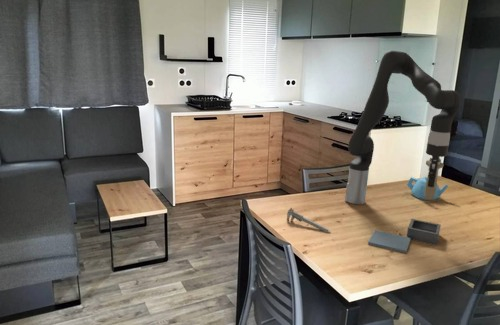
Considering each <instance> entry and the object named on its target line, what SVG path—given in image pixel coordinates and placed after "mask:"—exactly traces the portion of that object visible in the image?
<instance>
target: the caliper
mask: <svg viewBox="0 0 500 325" xmlns="http://www.w3.org/2000/svg"><path fill="white" fill-rule="evenodd" d="M294 210H295V209H294V208H293V207H290V208H289V209H288V211H287V214H286V221H289V220H290V222H293V221H294V220H297V221H299V222H304V223H306V224H308V225H310V226H312V227H314V228H316V229H318V230H320V231H321V232H325V233H328V234H331V233H332V232H331V230H329V228H326V227H325V226H323V225H321V224H318V223H317V222H315V221H312V220H311V219H309V218H307V217H305V216H304V215H302V214H301V213H298V212H296V211H294Z"/></svg>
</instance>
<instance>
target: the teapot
mask: <svg viewBox="0 0 500 325" xmlns="http://www.w3.org/2000/svg"><path fill="white" fill-rule="evenodd" d="M427 177H428V176H424V177H422V178H421V177H420V178H419V179H418V178H416V177H413V176H411V177H410V178H409V180H408V182H407V184H406V186H407V188H408V189H410V191H411V193H412V195H413V197H415V198H417V199H420V200H425V201H430V200H429V199H426V198H425V186H426V181H427ZM413 182H415V183H414V184H413ZM448 187H449V185H448V184H445V185H444V186H442V187H441V188H440V187H439V184H438V183H437V186H436V191H435V194H434V198H433V199H432V200H431V201H435V200H438V199H439V198H440V197H441V196H442V194H443V193H444V192H445V191H446V190H447V188H448Z"/></svg>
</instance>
